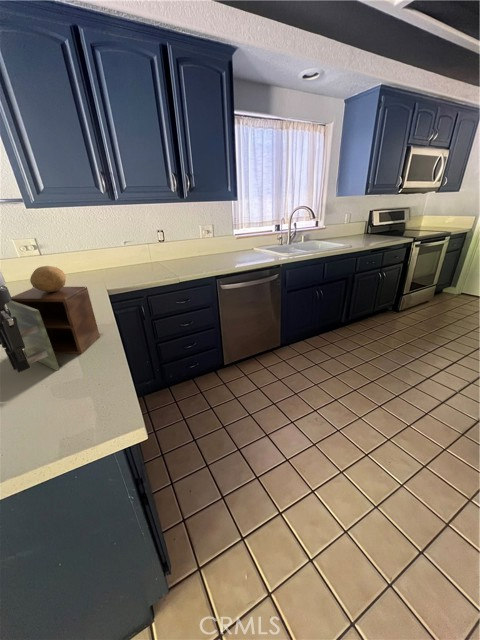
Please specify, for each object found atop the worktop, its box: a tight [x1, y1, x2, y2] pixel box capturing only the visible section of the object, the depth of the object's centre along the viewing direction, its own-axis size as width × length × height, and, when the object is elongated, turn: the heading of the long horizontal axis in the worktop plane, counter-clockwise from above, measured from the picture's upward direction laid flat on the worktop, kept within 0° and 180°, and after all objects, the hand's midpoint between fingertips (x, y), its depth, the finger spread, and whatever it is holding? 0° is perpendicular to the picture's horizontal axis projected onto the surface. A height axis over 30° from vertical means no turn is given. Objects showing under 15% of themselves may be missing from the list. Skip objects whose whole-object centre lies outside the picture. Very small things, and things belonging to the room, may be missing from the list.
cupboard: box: [11, 286, 101, 355], centre depth 91 cm, size 12×18×20 cm, turn 88°
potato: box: [29, 265, 67, 292], centre depth 86 cm, size 10×14×8 cm
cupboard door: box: [5, 301, 60, 371], centre depth 78 cm, size 8×18×20 cm, turn 60°
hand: (21, 368), depth 74 cm, fingers closed on cupboard door, 2 cm apart
